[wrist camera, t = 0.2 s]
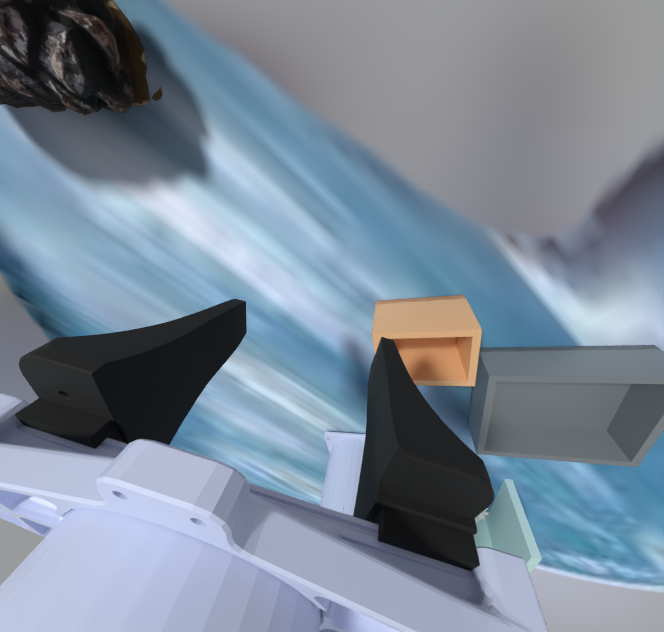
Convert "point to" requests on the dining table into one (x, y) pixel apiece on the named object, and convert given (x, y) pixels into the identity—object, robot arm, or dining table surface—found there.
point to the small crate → (432, 338)
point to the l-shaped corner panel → (507, 527)
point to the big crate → (569, 403)
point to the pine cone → (70, 56)
